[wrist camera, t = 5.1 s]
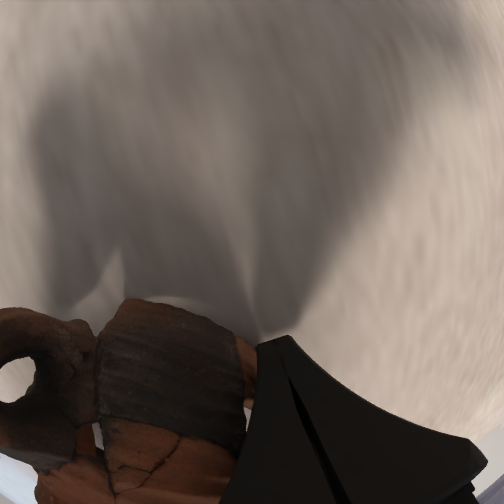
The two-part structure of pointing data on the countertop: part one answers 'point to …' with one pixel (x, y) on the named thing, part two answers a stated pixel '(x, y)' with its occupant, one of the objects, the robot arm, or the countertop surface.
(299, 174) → the countertop surface
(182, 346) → the brown piece
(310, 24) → the countertop surface
